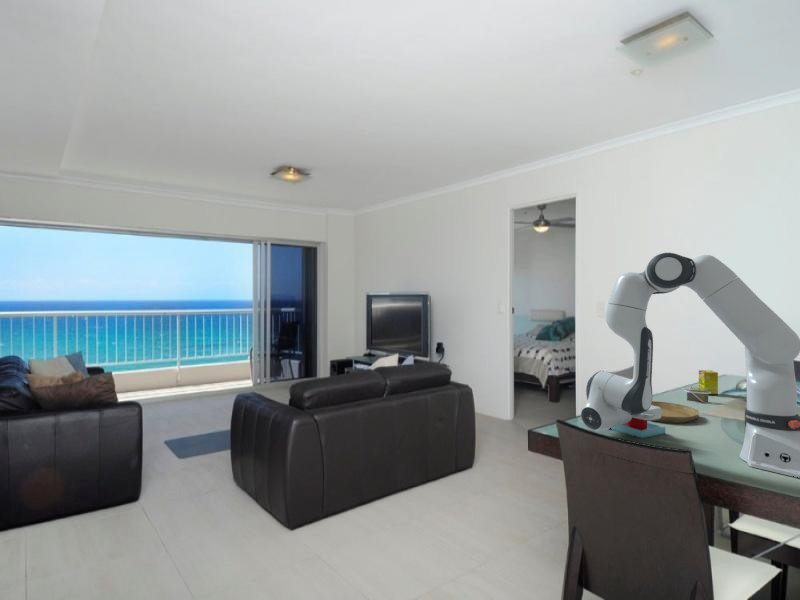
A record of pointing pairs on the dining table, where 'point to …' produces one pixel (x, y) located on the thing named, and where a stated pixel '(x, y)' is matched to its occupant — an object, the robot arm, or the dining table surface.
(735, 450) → the dining table surface
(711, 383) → the supplement box
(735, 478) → the dining table surface
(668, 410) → the plant saucer
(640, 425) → the beverage can
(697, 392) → the platform
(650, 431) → the tray
